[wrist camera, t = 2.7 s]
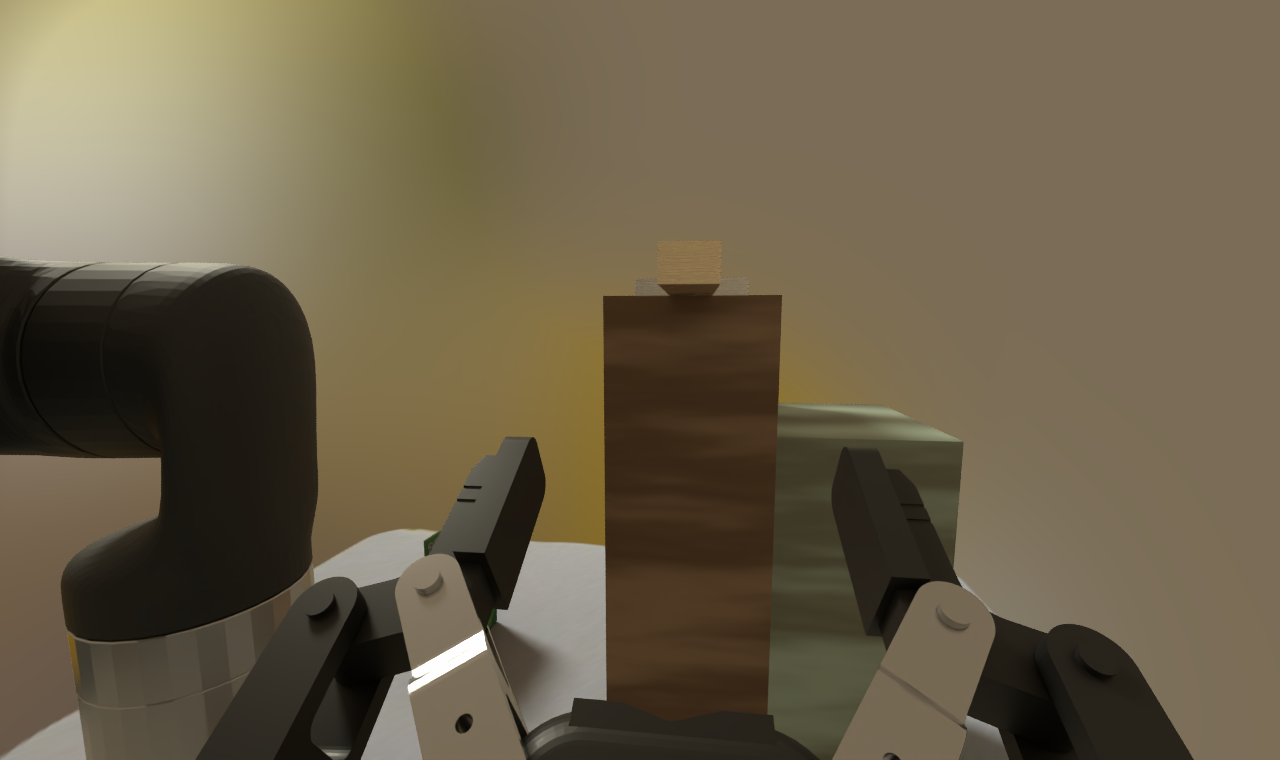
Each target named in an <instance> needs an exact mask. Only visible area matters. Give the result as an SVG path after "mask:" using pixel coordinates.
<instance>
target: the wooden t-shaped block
mask: <svg viewBox="0 0 1280 760" xmlns="http://www.w3.org/2000/svg"><path fill="white" fill-rule="evenodd" d="M721 242H722V241H663V242H658V279H636V280H635V284H636V296H714V295H749V278H721Z"/></svg>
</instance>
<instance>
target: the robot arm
mask: <svg viewBox="0 0 1280 760" xmlns="http://www.w3.org/2000/svg"><path fill="white" fill-rule="evenodd" d="M316 438H317V437H316V373H315V359H314V351H313V344H312V338H311V335H310V331H309V327H308V324H307V321H306V318H305V316H304V314H303V311H302V309H301V307H300V305H299V304H298V302H297V300H296V299H295V297H294V296H293V294H292V293H291V292H290V291H289V289H288V288H287V287H286V286H285V285H284V284H283V283H282V282H280V281H279V280H278V279H277V278H275V277H274V276H272V275H271V274H269V273H267V272H264V271H262V270H259V269H256V268H253V267H249V266H243V265H237V264H222V263H145V262H144V263H142V262H141V263H139V262H132V263H131V262H58V261H43V260H30V259H22V258H14V257H5V256H0V455H44V456H59V457H75V458H161V501H160V502H161V503H160V510H159V515H158V516H155V517H152V518H149V519H146V520H144V521H141V522H139V523H136V524H133V525H131V526H128V527H126V528H123V529H121V530H119V531H116V532H114V533H112V534H109V535H107V536H105V537H103V538H101V539H99V540H97V541H96V542H94V543H92V544H90V545H89V546H87V547H86V548H84V549H83V550H81V551H80V552H79V553H78V554H76V555H75V556H74V557H73V558H72V559H71V561H70V562H69V563H68V564H67V566H66V568H65V570H64V572H63V575H62V579H61V594H62V604H63V611H64V618H65V624H66V627H67V635H68V642H69V648H70V655H71V662H72V668H73V675H74V682H75V689H76V693H77V698H78V705H79V712H80V719H81V725H82V732H83V739H84V746H85V752H86V759H87V760H361V757H362V755H363V752H364V750H365V747H366V745H367V742H368V740H369V737H370V735H371V732H372V730H373V727H374V725H375V723H376V720H377V718H378V715H379V713H380V710H381V708H382V705H383V703H384V700H385V698H386V695H387V693H388V690H389V688H390V685H391V683H392V680H393V678H394V676H395V675H396V674H400V673H403V672H407V671H411V670H412V679H410V680H409V683H408V688H409V696H410V701H411V705H412V710H413V715H414V720H415V724H416V729H417V734H418V739H419V744H420V748H421V753H422V758H423V760H820V759H819V758H818V757H817V756H815V755H814V754H813V753H812V752H811V751H810V750H809V749H807V748H806V747H805V746H803V745H802V744H800V743H799V742H798V741H796V740H794V739H793V738H791V737H789V736H787V735H785V734H783V733H781V732H779V731H776V730H775V727H774V717H773V715H766V714H755V713H743V712H732V711H719V712H714V713H710V714H705V715H700V716H696V717H691V718H686V719H682V720H677V721H668V720H665V719H663V718H660V717H658V716H655V715H653V714H650V713H648V712H645V711H643V710H640V709H638V708H635V707H633V706H630V705H628V704H625V703H623V702H616V701H605V700H593V699H582V698H574V701H573V707H572V712H570V713H566V714H562V715H560V716H557V717H554V718H552V719H550V720H548V721H546V722H545V723H543V724H541V725H540V726H538V727H537V728H535V729H534V730H532V731H531V732H530V733H529V732H528V729H527V727H526V724H525V721H524V719H523V716H522V714H521V712H520V709H519V707H518V704H517V702H516V700H515V697H514V695H513V692H512V689H511V687H510V684H509V681H508V679H507V676H506V673H505V670H504V668H503V665H502V662H501V660H500V657H499V654H498V652H497V649H496V646H495V643H494V641H493V638H492V635H491V633H490V630H489V627H488V622H489V619H490V616H491V614H492V611H493V609H502V610H508V607H509V604H510V601H511V598H512V595H513V592H514V589H515V586H516V583H517V579H518V576H519V573H520V570H521V567H522V564H523V561H524V558H525V555H526V551H527V548H528V545H529V542H530V539H531V536H532V532H533V529H534V526H535V523H536V520H537V517H538V514H539V511H540V508H541V505H542V501H543V498H544V494H545V474H544V470H543V466H542V462H541V458H540V454H539V450H538V446H537V442H536V439H535V438H534V437H506V438H505V439H504V440H503V442H502V444H501V446H500V448H499V451H498V453H497V455H496V456H493V455H486V456H485V457H484V458H483V459H482V460H481V461H480V462H479V463H478V464H477V465H476V466H475V467H474V468H473V469H472V470H471V472H470V474H469V476H468V478H467V480H466V482H465V484H464V488H463V489H462V490H461V492H460V494H459V496H458V498H457V502H455V504H454V506H453V508H452V510H451V512H450V514H449V516H448V518H447V520H446V522H445V524H444V526H443V528H442V530H441V532H440V534H439V536H438V538H437V540H436V542H435V544H434V546H433V548H432V550H431V552H430V553H429V555H428V556H426V557H423V558H421V559H419V560H417V561H416V562H414V563H413V564H411V565H410V566H409V567H408V568H407V569H406V570H405V571H404V572H403V574H402V575H401V577H399V578H396V579H393V580H389V581H385V582H381V583H377V584H373V585H369V586H365V587H361V588H358V587H357V586H356V585H355V583H354V582H353V581H352V580H350V579H349V578H345V577H332V578H328V579H325V580H322V581H320V582H318V583H316V584H314V572H313V562H312V547H311V534H312V527H313V522H314V517H315V510H316V504H317V497H318V469H317V439H316ZM831 502H832V510H833V514H834V518H835V521H836V525H837V529H838V533H839V536H840V540H841V544H842V548H843V552H844V555H845V559H846V563H847V567H848V570H849V574H850V578H851V582H852V585H853V589H854V593H855V597H856V600H857V604H858V608H859V612H860V616H861V619H862V623H863V627H864V631H865V634H866V636H877V637H882V638H883V641H884V645H885V648H886V654H885V656H884V658H883V660H882V662H881V664H880V666H879V668H878V670H877V672H876V673H875V675H874V677H873V679H872V681H871V683H870V685H869V687H868V689H867V691H866V693H865V695H864V697H863V699H862V701H861V703H860V705H859V707H858V709H857V711H856V713H855V715H854V717H853V719H852V721H851V723H850V725H849V727H848V729H847V731H846V733H845V735H844V737H843V739H842V741H841V743H840V745H839V746H838V748H837V750H836V752H835V754H834V756H833V758H832V760H959V757H960V754H961V751H962V748H963V745H964V742H965V738H966V733H967V728H966V727H965V726H964V724H965V719H966V716H967V715H968V716H970V717H973V718H975V719H978V720H980V721H982V722H985V723H987V724H990V725H992V726H995V727H997V728H998V729H999V732H1000V735H1001V738H1002V740H1003V743H1004V746H1005V749H1006V752H1007V754H1008V757H1009V760H1194V759H1193V758H1192V756H1191V754H1190V753H1189V751H1188V749H1187V748H1186V746H1185V744H1184V743H1183V741H1182V739H1181V738H1180V736H1179V735H1178V733H1177V731H1176V730H1175V728H1174V726H1173V725H1172V723H1171V721H1170V720H1169V718H1168V716H1167V715H1166V713H1165V711H1164V710H1163V708H1162V706H1161V705H1160V703H1159V702H1158V700H1157V698H1156V696H1155V695H1154V693H1153V692H1152V690H1151V688H1150V687H1149V685H1148V683H1147V682H1146V680H1145V678H1144V677H1143V675H1142V673H1141V672H1140V670H1139V669H1138V667H1137V665H1136V664H1135V663H1134V661H1133V660H1132V659H1131V658H1130V656H1129V655H1128V654H1127V653H1126V652H1125V651H1124V650H1123V649H1122V648H1121V647H1119V646H1118V645H1117V644H1116V643H1114V642H1113V641H1112V640H1110V639H1109V638H1107V637H1105V636H1104V635H1102V634H1100V633H1099V632H1097V631H1094V630H1092V629H1090V628H1087V627H1084V626H1080V625H1075V624H1062V625H1058V626H1056V627H1054V628H1053V629H1051V630H1050V632H1049V633H1048V634H1047V633H1044V632H1041V631H1038V630H1035V629H1032V628H1029V627H1026V626H1023V625H1020V624H1017V623H1014V622H1011V621H1009V620H1006V619H1003V618H1001V617H998V616H997V615H995V614H993V613H991V612H989V610H988V609H987V607H986V606H985V605H984V604H983V603H982V602H981V601H980V600H979V599H978V598H977V597H976V596H975V595H973V594H972V593H971V592H969V591H968V590H966V589H964V588H963V587H962V586H961V584H960V582H959V580H958V578H957V576H956V574H955V572H954V569H953V567H952V565H951V563H950V561H949V558H948V556H947V554H946V552H945V550H944V547H943V545H942V543H941V541H940V539H939V536H938V534H937V532H936V530H935V528H934V525H933V524H931V519H930V517H929V514H928V512H927V510H926V508H924V503H923V501H922V499H921V497H920V495H919V492H918V490H917V488H916V486H915V485H914V484H913V483H912V482H911V481H910V480H909V479H908V478H907V477H906V476H905V475H904V474H903V473H902V472H901V471H900V470H899V469H886V468H885V465H884V463H883V460H882V458H881V455H880V453H879V451H878V449H877V448H872V447H843V449H842V451H841V454H840V458H839V462H838V466H837V470H836V474H835V477H834V481H833V485H832V491H831Z"/></svg>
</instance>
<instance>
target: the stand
mask: <svg viewBox="0 0 1280 760" xmlns="http://www.w3.org/2000/svg"><path fill="white" fill-rule="evenodd" d="M781 306H782V295H714V296H603V314H604V315H603V316H604V427H605V428H604V432H605V433H604V436H605V554H606V672H607V701H616V702H623V703H625V704H628V705H630V706H633V707H635V708H638V709H640V710H643V711H645V712H648V713H650V714H653V715H655V716H658V717H660V718H663V719H665V720H668V721H677V720H682V719H686V718H691V717H696V716H700V715H705V714H710V713H714V712H719V711H732V712H743V713H755V714H766V715H773V717H774V727H775V730H776V731H779V732H781V733H783V734H785V735H787V736H789V737H791V738H793V739H794V740H796V741H798V742H799V743H800V744H802V745H803V746H805V747H806V748H807V749H809V750H810V751H811V752H812V753H813V754H814V755H815V756H817V757H818V758H819V759H820V760H832V758H833V756H834V754H835V752H836V750H837V748H838V746H839V745H840V743H841V741H842V739H843V737H844V735H845V733H846V731H847V729H848V727H849V725H850V723H851V721H852V719H853V717H854V715H855V713H856V711H857V709H858V707H859V705H860V703H861V701H862V699H863V697H864V695H865V693H866V691H867V689H868V687H869V685H870V683H871V681H872V679H873V677H874V675H875V673H876V672H877V670H878V668H879V666H880V664H881V662H882V660H883V658H884V656H885V654H886V648H885V645H884V641H883V638H882V637H877V636H866V634H865V631H864V627H863V623H862V619H861V616H860V612H859V608H858V604H857V600H856V597H855V593H854V589H853V585H852V582H851V578H850V574H849V570H848V567H847V563H846V559H845V555H844V552H843V548H842V544H841V540H840V536H839V533H838V529H837V525H836V521H835V518H834V514H833V510H832V502H831V491H832V485H833V481H834V477H835V474H836V470H837V466H838V462H839V458H840V454H841V451H842V449H843V447H872V448H877V449H878V451H879V453H880V455H881V458H882V460H883V463H884V465H885V468H886V469H899V470H900V471H901V472H902V473H903V474H904V475H905V476H906V477H907V478H908V479H909V480H910V481H911V482H912V483H913V484H914V485H915V486H916V488H917V490H918V492H919V495H920V497H921V499H922V501H923V503H924V508H926V510H927V512H928V514H929V517H930V519H931V524H933V525H934V528H935V530H936V532H937V534H938V536H939V539H940V541H941V543H942V545H943V547H944V550H945V552H946V554H947V556H948V558H949V561H950V563H951V565H952V567H953V565H954V553H955V541H956V528H957V517H958V516H957V515H958V504H959V492H960V479H961V466H962V455H963V441H960V440H958V439H956V438H954V437H952V436H950V435H947V434H945V433H943V432H941V431H939V430H936V429H934V428H932V427H930V426H927V425H925V424H923V423H921V422H919V421H916V420H914V419H912V418H910V417H907V416H905V415H903V414H901V413H899V412H897V411H894V410H892V409H890V408H888V407H885V406H883V405H863V404H862V405H859V404H808V403H778V394H779V364H780V363H779V362H780V336H781Z"/></svg>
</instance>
